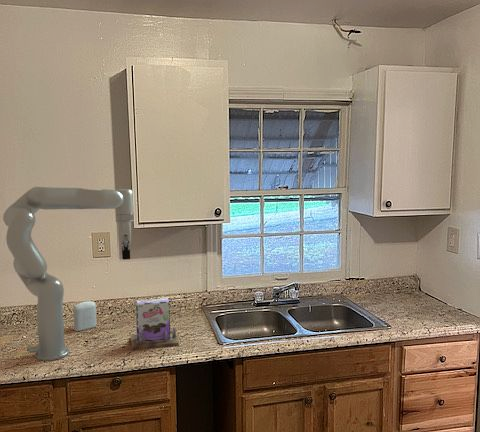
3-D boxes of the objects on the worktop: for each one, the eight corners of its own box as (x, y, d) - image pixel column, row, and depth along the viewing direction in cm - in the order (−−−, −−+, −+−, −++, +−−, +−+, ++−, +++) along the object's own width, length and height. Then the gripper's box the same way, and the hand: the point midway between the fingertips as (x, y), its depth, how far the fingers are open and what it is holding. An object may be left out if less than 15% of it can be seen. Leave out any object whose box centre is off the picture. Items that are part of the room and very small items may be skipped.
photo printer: (93, 324, 228) (92, 298, 227) (98, 326, 225) (97, 300, 224) (72, 330, 221) (71, 303, 220) (77, 332, 218) (75, 305, 216)
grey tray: (131, 350, 197) (131, 337, 196) (130, 337, 210) (130, 326, 210) (178, 345, 202) (178, 333, 201) (174, 333, 215) (174, 322, 214)
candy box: (137, 342, 201) (135, 303, 199) (136, 337, 207) (135, 299, 205) (170, 339, 205) (169, 301, 203) (169, 334, 210) (168, 297, 208)
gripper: (115, 215, 217) (117, 253, 219) (115, 220, 201) (117, 261, 203) (132, 215, 219) (134, 252, 221) (134, 219, 203) (135, 260, 205)
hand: (126, 257), depth 212 cm, fingers open, 9 cm apart
